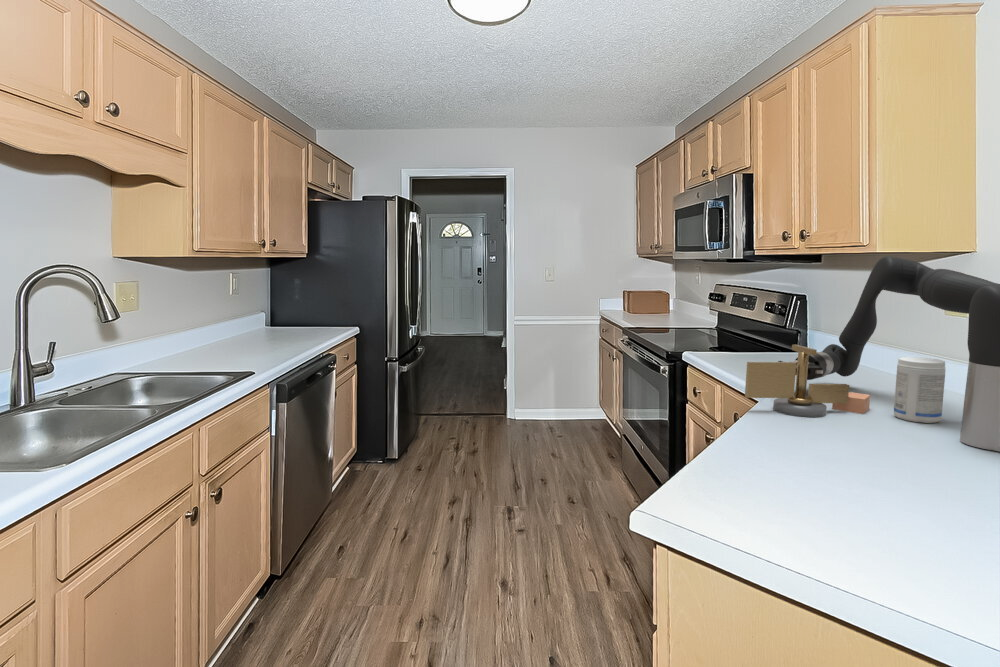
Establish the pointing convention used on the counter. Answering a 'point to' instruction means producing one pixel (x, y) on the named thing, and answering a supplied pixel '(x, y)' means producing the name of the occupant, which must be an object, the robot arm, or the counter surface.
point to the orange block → (854, 403)
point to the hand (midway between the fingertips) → (784, 371)
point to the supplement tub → (919, 389)
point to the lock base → (799, 408)
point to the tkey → (791, 381)
